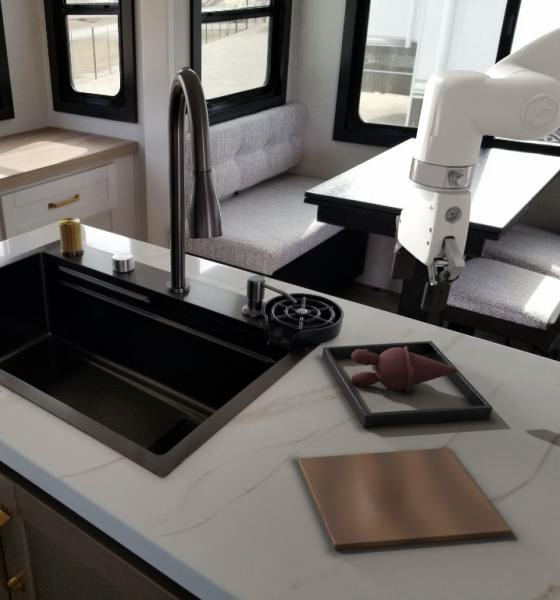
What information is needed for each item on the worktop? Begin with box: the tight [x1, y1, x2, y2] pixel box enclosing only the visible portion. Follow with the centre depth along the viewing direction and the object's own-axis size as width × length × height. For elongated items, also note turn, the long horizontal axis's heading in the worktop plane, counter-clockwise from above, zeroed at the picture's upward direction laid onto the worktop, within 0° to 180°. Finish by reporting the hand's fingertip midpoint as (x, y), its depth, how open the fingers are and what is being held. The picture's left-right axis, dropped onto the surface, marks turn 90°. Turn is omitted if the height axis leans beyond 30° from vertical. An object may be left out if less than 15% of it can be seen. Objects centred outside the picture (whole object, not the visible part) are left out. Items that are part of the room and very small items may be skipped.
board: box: [297, 447, 511, 551], centre depth 76 cm, size 20×14×1 cm
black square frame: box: [321, 340, 493, 429], centre depth 96 cm, size 18×18×2 cm
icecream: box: [351, 346, 458, 393], centre depth 95 cm, size 7×7×15 cm
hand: (416, 293), depth 89 cm, fingers open, 9 cm apart
